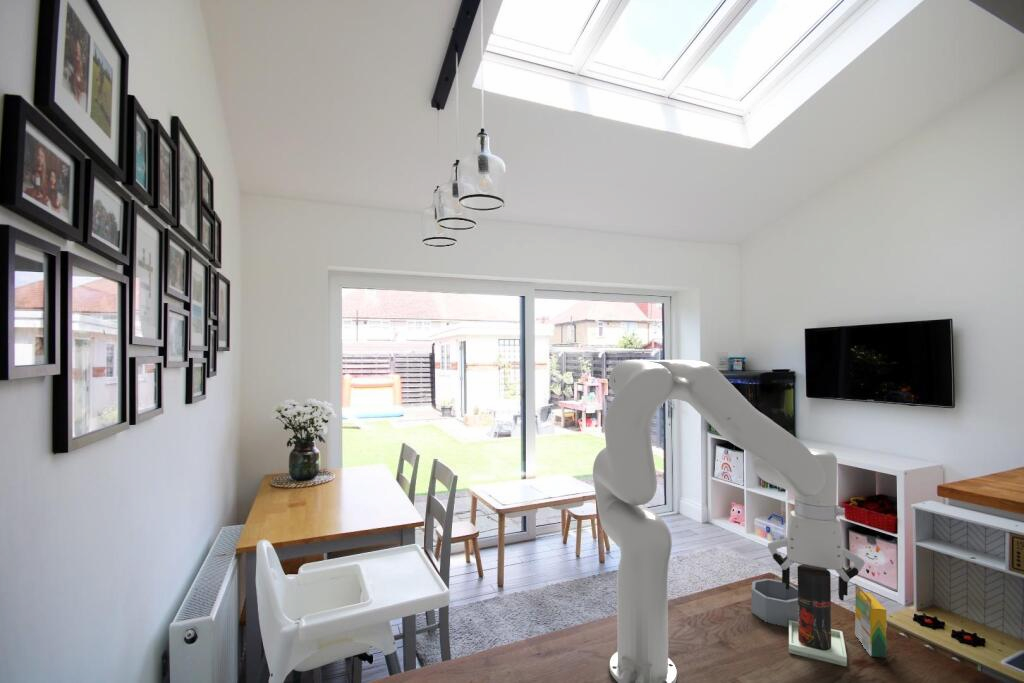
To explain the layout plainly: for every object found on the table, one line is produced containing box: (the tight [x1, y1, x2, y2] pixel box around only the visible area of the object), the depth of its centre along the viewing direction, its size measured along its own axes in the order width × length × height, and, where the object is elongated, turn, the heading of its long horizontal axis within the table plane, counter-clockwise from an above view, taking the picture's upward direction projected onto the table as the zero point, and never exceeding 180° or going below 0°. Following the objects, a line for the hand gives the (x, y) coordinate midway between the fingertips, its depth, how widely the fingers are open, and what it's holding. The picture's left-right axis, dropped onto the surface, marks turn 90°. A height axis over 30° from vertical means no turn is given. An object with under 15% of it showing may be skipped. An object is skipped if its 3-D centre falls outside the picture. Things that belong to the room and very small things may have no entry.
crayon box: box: [854, 582, 887, 658], centre depth 109 cm, size 7×3×12 cm, turn 168°
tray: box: [788, 620, 848, 667], centre depth 109 cm, size 10×10×2 cm
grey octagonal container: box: [751, 578, 798, 628], centre depth 122 cm, size 10×10×6 cm
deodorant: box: [797, 564, 832, 651], centre depth 109 cm, size 6×6×15 cm
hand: (813, 592), depth 109 cm, fingers open, 9 cm apart
